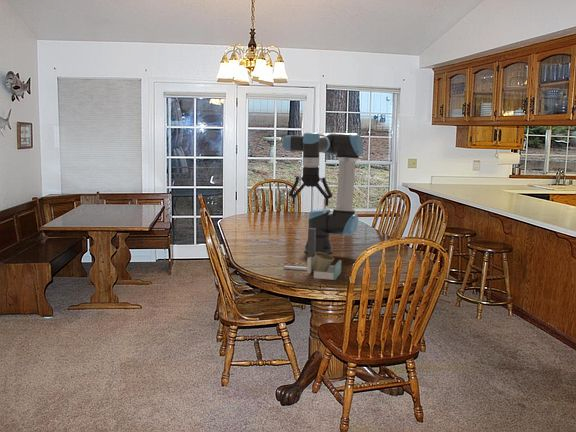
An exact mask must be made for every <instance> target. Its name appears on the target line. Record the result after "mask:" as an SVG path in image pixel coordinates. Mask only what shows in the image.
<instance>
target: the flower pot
mask: <svg viewBox="0 0 576 432" xmlns="http://www.w3.org/2000/svg"><path fill="white" fill-rule="evenodd" d="M314 254H315V261H314V267H313V271H312V272H313V273H314V271H318V272H327V270H328V268H329V266H331V264H332V263H333V261H334V260H335V257H333V256H332V255H330V253H328V254H326V253H323V252H315V253H314Z"/></svg>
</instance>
